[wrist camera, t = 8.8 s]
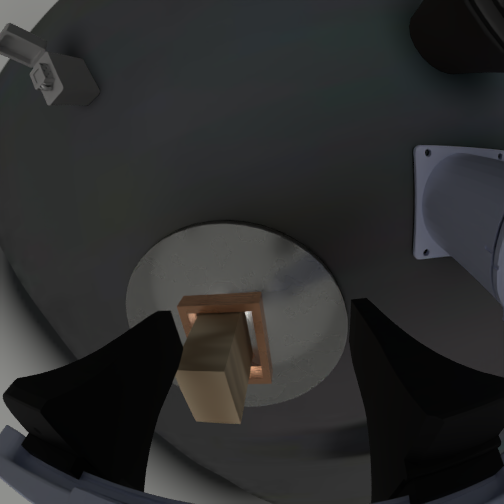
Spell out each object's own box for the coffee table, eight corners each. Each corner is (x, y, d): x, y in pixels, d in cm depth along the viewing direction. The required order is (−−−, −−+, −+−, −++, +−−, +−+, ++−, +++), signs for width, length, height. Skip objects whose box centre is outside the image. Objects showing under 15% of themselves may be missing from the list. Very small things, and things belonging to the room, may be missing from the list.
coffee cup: (387, 68, 14) (469, 22, 5) (391, -21, 11) (444, -91, 2) (481, 109, 14) (580, 113, 5) (481, 22, 11) (559, -7, 1)
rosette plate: (345, 207, 18) (352, 217, 16) (340, 394, 25) (343, 413, 22) (105, 235, 21) (87, 246, 19) (166, 394, 28) (159, 411, 25)
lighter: (100, 92, 17) (22, 86, 9) (86, 107, 17) (7, 108, 10) (71, 36, 15) (2, 21, 7) (58, 51, 15) (-12, 41, 8)
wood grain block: (243, 301, 21) (224, 371, 14) (253, 353, 22) (240, 423, 16) (203, 303, 21) (172, 369, 15) (217, 354, 23) (196, 421, 16)
